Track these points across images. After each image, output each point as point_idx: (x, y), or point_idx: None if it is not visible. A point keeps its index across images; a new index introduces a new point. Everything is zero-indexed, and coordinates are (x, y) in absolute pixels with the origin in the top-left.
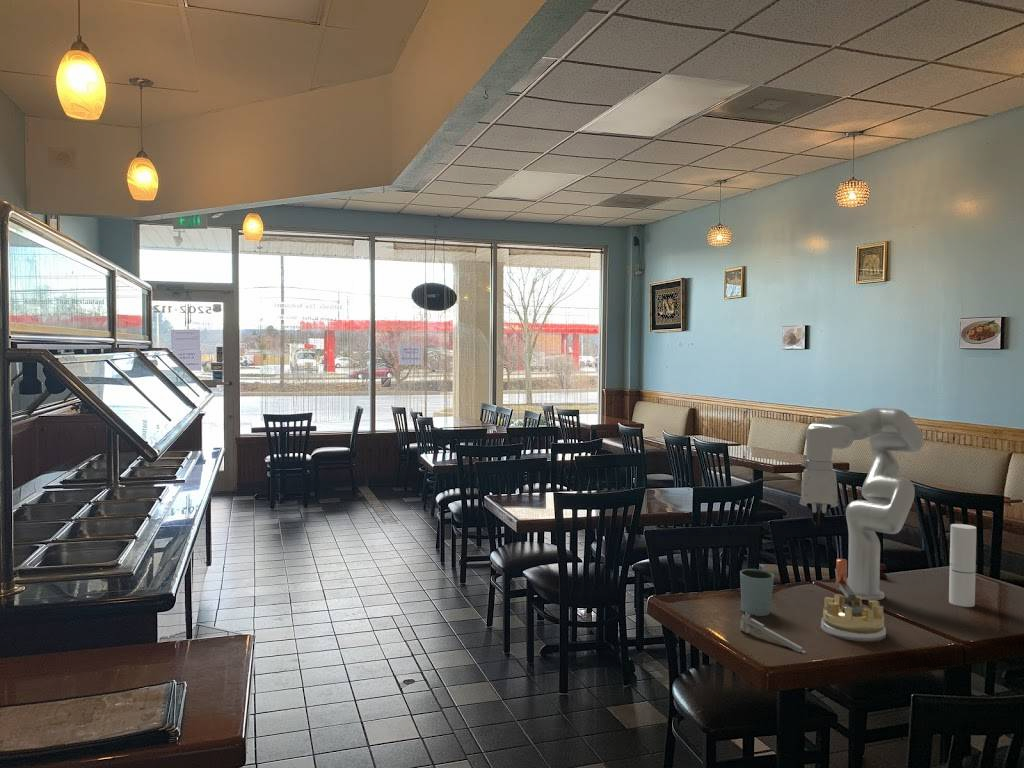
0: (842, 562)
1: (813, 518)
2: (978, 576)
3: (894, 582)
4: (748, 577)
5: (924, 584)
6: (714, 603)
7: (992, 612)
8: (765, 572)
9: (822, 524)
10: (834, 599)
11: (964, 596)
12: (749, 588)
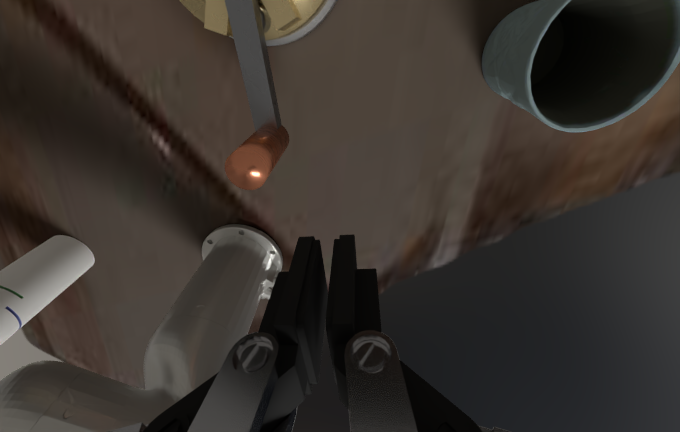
0: (243, 149)
1: (373, 288)
2: None
3: None
4: None
5: (151, 330)
6: None
7: (8, 215)
8: (542, 114)
9: (298, 241)
10: (299, 18)
11: (43, 247)
12: None
